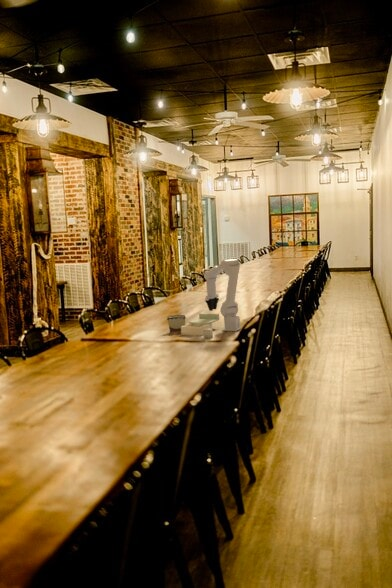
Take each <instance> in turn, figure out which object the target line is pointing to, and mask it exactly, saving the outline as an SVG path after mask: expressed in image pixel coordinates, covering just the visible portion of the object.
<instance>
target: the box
mask: <svg viewBox="0 0 392 588" xmlns="http://www.w3.org/2000/svg"><path fill="white" fill-rule="evenodd" d="M204 329H212V330H213V323H210V324H191V323H189V322H188V323H187V324H185V325H184V326H181V332H180V333H181V336H197V335H198V336H204V331H203V330H204Z"/></svg>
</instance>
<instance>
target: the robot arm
mask: <svg viewBox="0 0 392 588" xmlns="http://www.w3.org/2000/svg"><path fill="white" fill-rule="evenodd" d="M240 266H241V264H240V262H239V260H238V258H233V259H223V260H221V261H220V263H219V264H218V265H213V267H212V268H210V269H208V270H205V271H204V272H203V276H204V279H205V280H206V281H205V282H206V293H207V295H206V296H205V298H204V301H205V303H206V305H207V307H208V310H209V312H211V311H213V310H217V308H218V307H217V306H218V302H219V300H220V298H219V297H220V295H219V294H218V293H217V288H216V285H217V284H216V281H217V277H218V276H219V275H220V274H221V273H222V271H223V273H224V274H225V275H226V276H228V282H227V289H226V295H225V297H226V298H225V300H224V301H222V304H221V306H220V314H221V315H222V316H223V323H224V324H223V325H224V328H223V329H222V330H221V331H223V332H224V331H225V332H237V331H240V330H241V329H240V328H241V317H240V316H238V315H237V314H238V313H239V306H238V305H239V303H238V302H237V301H236V292H237V287H238V285H237V284H238V278H239V273H240V268H241V267H240Z"/></svg>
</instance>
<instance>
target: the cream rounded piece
mask: <svg viewBox="0 0 392 588" xmlns="http://www.w3.org/2000/svg"><path fill="white" fill-rule="evenodd" d="M203 331H204V335H203V338H204V339H205V340H210V339H213V338H214V336H213V333H214V332H213V328H212V329H204V330H203ZM209 338H210V339H209Z"/></svg>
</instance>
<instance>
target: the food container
mask: <svg viewBox="0 0 392 588" xmlns="http://www.w3.org/2000/svg"><path fill="white" fill-rule="evenodd" d="M186 320H187V317H186V315H184V314H174V315H168V316H167V318H166V321H167V324H168V329H169V333H181V326H184V325H186Z"/></svg>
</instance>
